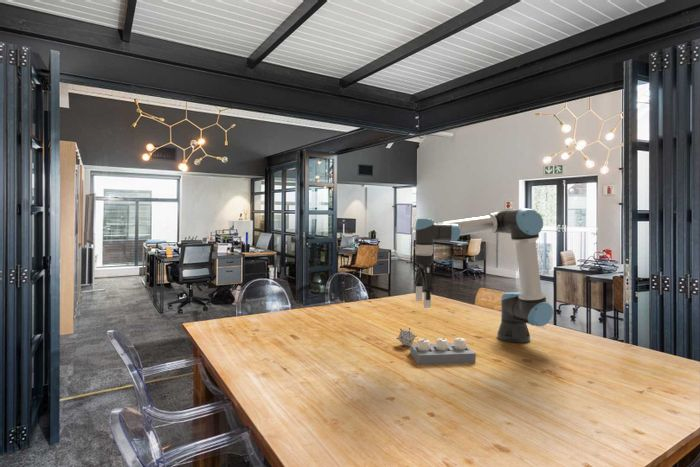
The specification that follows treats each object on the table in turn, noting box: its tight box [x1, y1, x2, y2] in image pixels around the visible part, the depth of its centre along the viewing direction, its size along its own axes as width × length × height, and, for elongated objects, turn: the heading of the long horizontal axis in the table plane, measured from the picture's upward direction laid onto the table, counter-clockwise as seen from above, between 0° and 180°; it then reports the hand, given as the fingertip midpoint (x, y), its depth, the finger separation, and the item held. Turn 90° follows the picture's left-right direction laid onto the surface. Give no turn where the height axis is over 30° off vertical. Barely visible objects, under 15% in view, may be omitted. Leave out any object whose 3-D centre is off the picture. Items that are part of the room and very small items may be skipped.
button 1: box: [453, 337, 467, 351], centre depth 172 cm, size 5×5×5 cm
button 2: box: [435, 337, 449, 351], centre depth 171 cm, size 5×5×5 cm
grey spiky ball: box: [396, 327, 418, 348], centre depth 188 cm, size 9×8×10 cm
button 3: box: [417, 338, 431, 352], centre depth 171 cm, size 5×5×5 cm
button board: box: [409, 342, 477, 366], centre depth 172 cm, size 24×14×4 cm, turn 96°
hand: (422, 304), depth 172 cm, fingers open, 13 cm apart
